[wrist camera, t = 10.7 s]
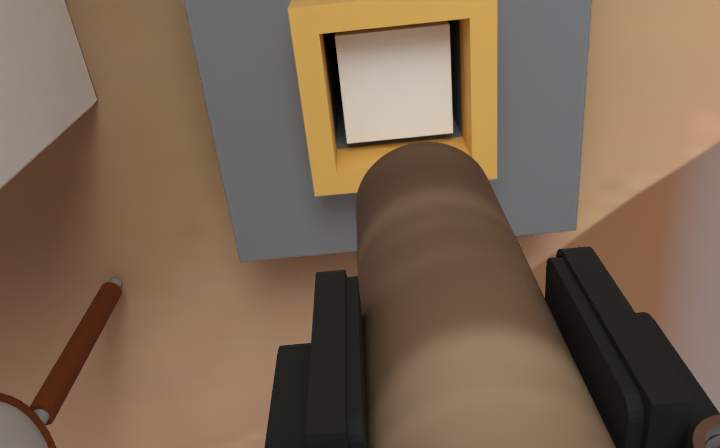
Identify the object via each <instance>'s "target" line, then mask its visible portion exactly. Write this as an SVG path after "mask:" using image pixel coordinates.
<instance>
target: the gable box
mask: <svg viewBox="0 0 720 448" xmlns="http://www.w3.org/2000/svg"><path fill="white" fill-rule="evenodd" d="M96 101H97V98H96V95H95V92H94V89H93V86H92V83H91V80H90V77H89V73H88V70H87V67H86V64H85V61H84V58H83V55H82V52H81V49H80V46H79V43H78V40H77V37H76V34H75V31H74V28H73V25H72V21H71V18H70V15H69V12H68V9H67V6H66V3H65V0H0V189H1V188H3V187H4V186H5V185H6V184H7V183H8V182H9V181H10V180H11V179H12V178H14V177H15V176H16V175H17V174H18V173H19V172H20V171H21V170H22V169H24V168H25V167H26V166H27V165H28V164H29V163H30V162H31V161H32V160H33V159H35V158H36V157H37V156H38V155H39V154H40V153H41V152H42V151H43V150H45V149H46V148H47V147H48V146H49V145H50V144H51V143H52V142H53V141H54V140H56V139H57V138H58V137H59V136H60V135H61V134H62V133H63V132H64V131H66V130H67V129H68V128H69V127H70V126H71V125H72V124H73V123H74V122H75V121H77V120H78V119H79V118H80V117H81V116H82V115H83V114H84V113H85V112H87V111H88V110H89V109H90V108H91V107H92V106H93V105H94V104H95V102H96Z"/></svg>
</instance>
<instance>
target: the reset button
mask: <svg viewBox="0 0 720 448" xmlns="http://www.w3.org/2000/svg"><path fill="white" fill-rule="evenodd" d="M335 42H336V51H337V60H338V68H339V77H340V86H341V95H342V103H343V112H344V121H345V130H346V139H347V144H349V143H359V142H369V141H379V140H389V139H399V138H409V137H419V136H429V135H439V134H449V133H453V115H452V83H451V52H450V24H449V23H448V21H439V22H429V23H419V24H410V25H400V26H391V27H381V28H372V29H362V30H352V31H343V32H335Z"/></svg>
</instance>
